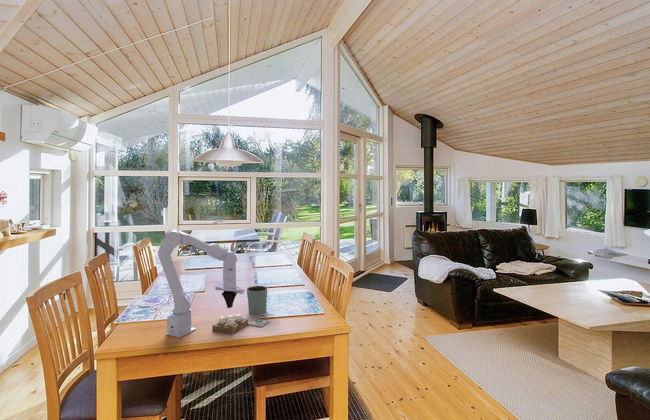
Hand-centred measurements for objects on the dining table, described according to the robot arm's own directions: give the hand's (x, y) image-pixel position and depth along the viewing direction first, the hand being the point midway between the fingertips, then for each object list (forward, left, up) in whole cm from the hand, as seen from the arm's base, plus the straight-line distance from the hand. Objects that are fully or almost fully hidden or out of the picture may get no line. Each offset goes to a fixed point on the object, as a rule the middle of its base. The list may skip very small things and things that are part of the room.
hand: (229, 307), depth 162 cm
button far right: (0, -5, -6) cm, 8 cm away
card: (+6, -11, -8) cm, 15 cm away
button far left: (0, 0, -7) cm, 7 cm away
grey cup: (+18, -2, -8) cm, 20 cm away
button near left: (-5, 0, -6) cm, 8 cm away
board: (-3, -2, -8) cm, 9 cm away
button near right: (-6, -5, -6) cm, 9 cm away
